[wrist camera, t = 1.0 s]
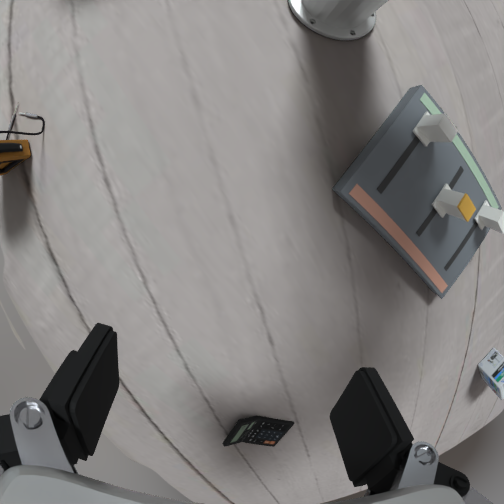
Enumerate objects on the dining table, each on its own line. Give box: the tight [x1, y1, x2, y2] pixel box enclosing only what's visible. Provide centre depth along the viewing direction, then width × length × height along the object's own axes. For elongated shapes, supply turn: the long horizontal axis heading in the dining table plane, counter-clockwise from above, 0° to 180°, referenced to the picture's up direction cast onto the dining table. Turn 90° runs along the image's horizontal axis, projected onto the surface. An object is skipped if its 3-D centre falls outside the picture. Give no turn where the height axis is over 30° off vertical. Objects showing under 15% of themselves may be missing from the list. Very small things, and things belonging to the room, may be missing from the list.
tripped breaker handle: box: [432, 184, 476, 222], centre depth 30 cm, size 4×3×5 cm
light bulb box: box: [478, 348, 504, 400], centre depth 46 cm, size 11×7×11 cm, turn 45°
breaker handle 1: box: [413, 112, 458, 147], centre depth 27 cm, size 4×3×5 cm
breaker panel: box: [332, 85, 501, 299], centre depth 35 cm, size 20×26×3 cm
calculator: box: [223, 416, 294, 447], centre depth 48 cm, size 9×12×3 cm
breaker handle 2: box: [474, 200, 504, 233], centre depth 32 cm, size 4×3×5 cm
